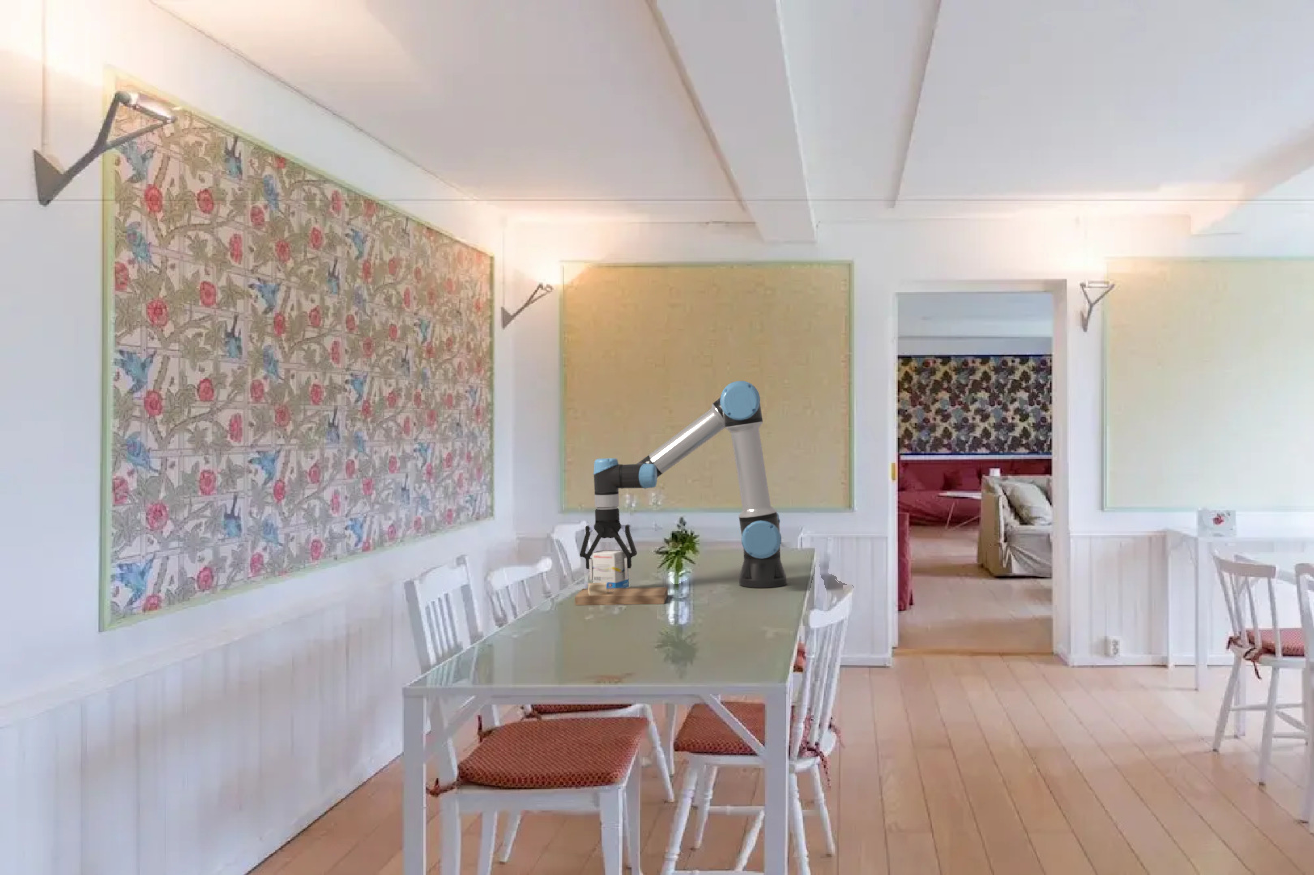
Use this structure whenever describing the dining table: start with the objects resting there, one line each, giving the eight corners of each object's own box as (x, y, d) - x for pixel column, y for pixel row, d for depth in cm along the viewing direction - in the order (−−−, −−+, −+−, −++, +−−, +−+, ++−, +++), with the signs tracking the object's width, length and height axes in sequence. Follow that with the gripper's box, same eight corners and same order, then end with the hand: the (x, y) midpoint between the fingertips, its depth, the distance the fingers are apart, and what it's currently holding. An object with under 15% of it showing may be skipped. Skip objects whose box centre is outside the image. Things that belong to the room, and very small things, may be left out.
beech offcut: (605, 592, 303) (604, 582, 303) (606, 594, 299) (606, 584, 299) (588, 593, 302) (588, 583, 302) (589, 595, 298) (589, 585, 298)
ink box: (629, 586, 318) (628, 549, 318) (615, 591, 311) (614, 553, 311) (606, 585, 322) (605, 548, 322) (592, 589, 315) (591, 552, 315)
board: (667, 595, 309) (667, 586, 308) (663, 603, 295) (663, 594, 295) (583, 596, 311) (582, 588, 311) (575, 605, 297) (575, 596, 297)
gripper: (644, 506, 318) (646, 576, 318) (572, 507, 320) (574, 577, 320) (642, 508, 310) (644, 580, 311) (568, 509, 312) (570, 581, 313)
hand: (609, 579), depth 315 cm, fingers closed on ink box, 10 cm apart
